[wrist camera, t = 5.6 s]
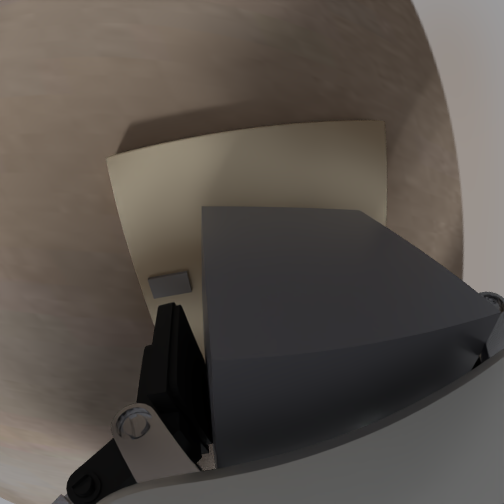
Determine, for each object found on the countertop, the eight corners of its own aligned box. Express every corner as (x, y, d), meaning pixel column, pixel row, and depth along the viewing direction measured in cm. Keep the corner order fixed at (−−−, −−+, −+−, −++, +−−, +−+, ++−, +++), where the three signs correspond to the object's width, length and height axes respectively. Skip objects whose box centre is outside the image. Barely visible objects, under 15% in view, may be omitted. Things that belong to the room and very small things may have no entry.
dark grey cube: (359, 210, 12) (500, 312, 5) (329, 345, 14) (396, 468, 8) (201, 206, 11) (211, 360, 4) (204, 356, 13) (220, 508, 7)
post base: (364, 318, 18) (431, 409, 11) (176, 359, 17) (176, 479, 10) (368, 119, 13) (499, 137, 6) (115, 154, 12) (20, 199, 5)
